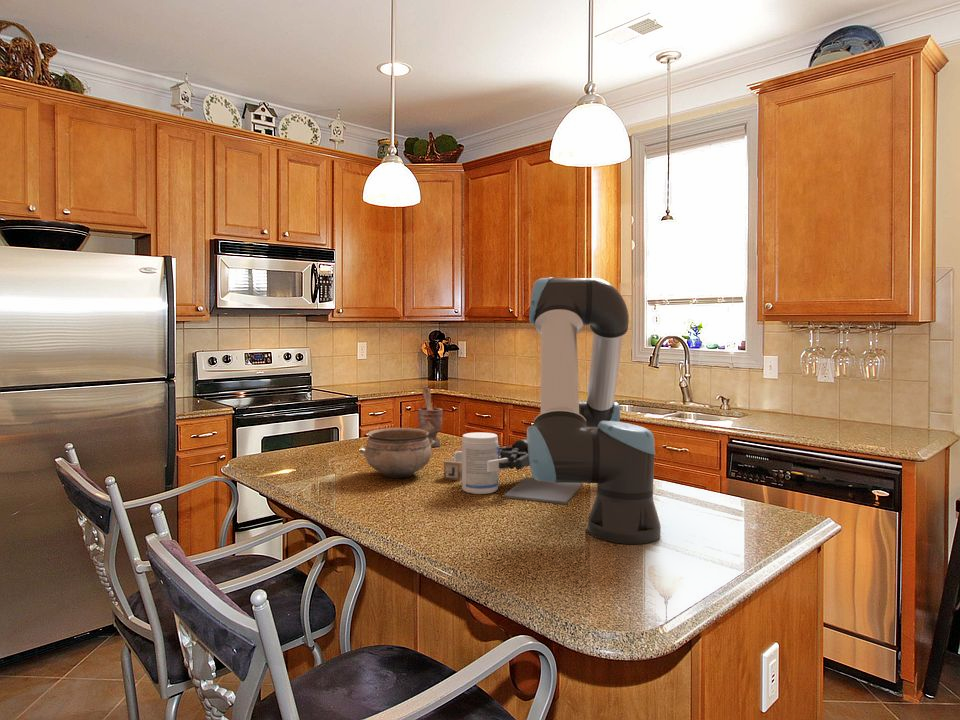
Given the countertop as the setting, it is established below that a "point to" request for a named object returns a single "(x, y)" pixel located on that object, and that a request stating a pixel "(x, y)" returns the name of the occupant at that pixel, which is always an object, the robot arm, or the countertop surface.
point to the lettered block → (452, 470)
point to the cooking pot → (398, 451)
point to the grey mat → (543, 491)
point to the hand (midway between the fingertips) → (470, 461)
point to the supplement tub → (479, 462)
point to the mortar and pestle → (430, 418)
